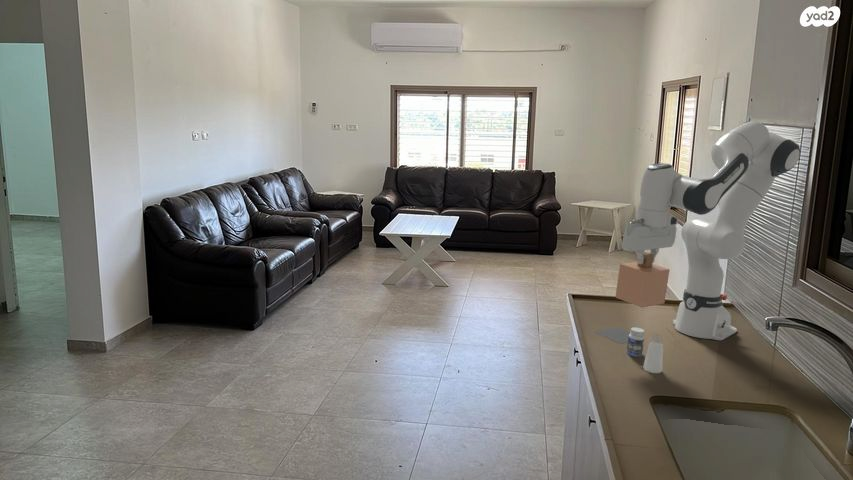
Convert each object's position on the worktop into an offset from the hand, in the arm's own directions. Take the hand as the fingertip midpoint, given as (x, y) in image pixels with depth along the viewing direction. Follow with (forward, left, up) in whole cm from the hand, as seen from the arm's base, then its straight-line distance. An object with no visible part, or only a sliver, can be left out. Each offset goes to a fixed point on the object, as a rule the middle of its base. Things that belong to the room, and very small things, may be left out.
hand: (645, 263), depth 191 cm
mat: (-8, -12, -30) cm, 33 cm away
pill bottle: (0, +1, -30) cm, 30 cm away
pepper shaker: (+4, +11, -30) cm, 32 cm away
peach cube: (0, 0, -12) cm, 12 cm away
